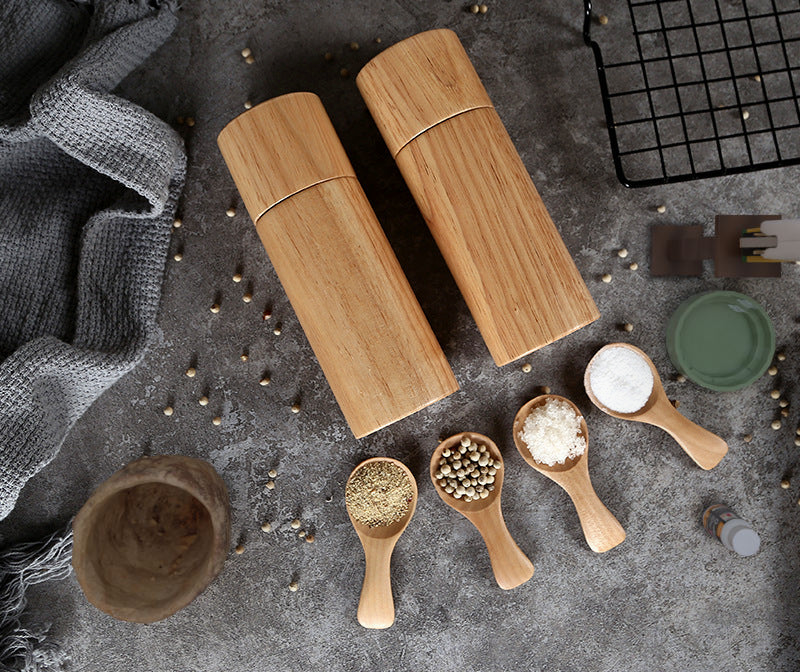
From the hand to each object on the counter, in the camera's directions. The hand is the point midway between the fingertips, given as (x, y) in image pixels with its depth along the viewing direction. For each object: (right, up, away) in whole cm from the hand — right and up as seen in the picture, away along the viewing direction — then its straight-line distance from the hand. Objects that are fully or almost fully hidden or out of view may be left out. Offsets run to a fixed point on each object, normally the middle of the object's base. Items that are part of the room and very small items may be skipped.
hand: (764, 244), depth 88 cm
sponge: (0, 0, +2) cm, 2 cm away
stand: (0, 0, +29) cm, 29 cm away
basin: (+7, -16, +29) cm, 34 cm away
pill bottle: (+8, -49, +29) cm, 57 cm away
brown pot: (-87, -44, +29) cm, 102 cm away
